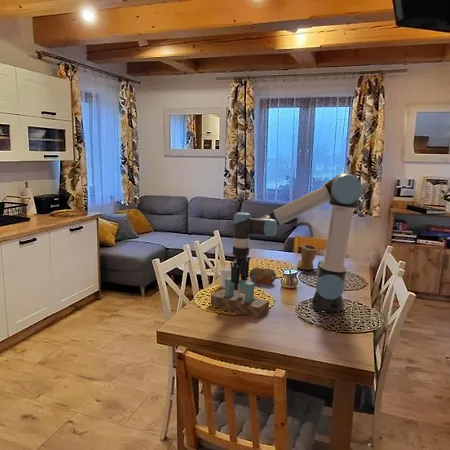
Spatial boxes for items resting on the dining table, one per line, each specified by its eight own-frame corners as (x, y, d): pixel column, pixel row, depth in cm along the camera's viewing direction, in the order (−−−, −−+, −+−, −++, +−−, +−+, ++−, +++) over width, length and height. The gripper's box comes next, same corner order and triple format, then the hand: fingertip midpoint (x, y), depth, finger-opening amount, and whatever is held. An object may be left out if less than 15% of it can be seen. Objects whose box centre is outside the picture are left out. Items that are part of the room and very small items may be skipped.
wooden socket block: (268, 311, 188) (269, 301, 187) (257, 318, 180) (258, 307, 179) (222, 298, 202) (222, 289, 201) (210, 304, 194) (210, 295, 193)
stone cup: (314, 272, 250) (316, 248, 248) (295, 270, 254) (296, 246, 251) (317, 265, 265) (318, 243, 262) (298, 263, 268) (300, 241, 265)
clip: (254, 304, 188) (254, 282, 186) (249, 306, 185) (250, 285, 183) (229, 297, 196) (229, 276, 194) (224, 299, 193) (224, 278, 191)
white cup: (232, 289, 216) (233, 271, 215) (218, 288, 218) (218, 270, 216) (235, 284, 224) (235, 267, 222) (221, 283, 226) (221, 266, 224)
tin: (249, 281, 230) (249, 267, 229) (250, 279, 233) (251, 265, 232) (274, 285, 225) (275, 270, 223) (276, 283, 228) (276, 269, 226)
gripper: (243, 241, 194) (242, 288, 199) (223, 248, 181) (222, 298, 185) (257, 244, 190) (255, 291, 195) (237, 251, 176) (236, 302, 181)
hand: (239, 294), depth 190 cm, fingers closed on clip, 4 cm apart
